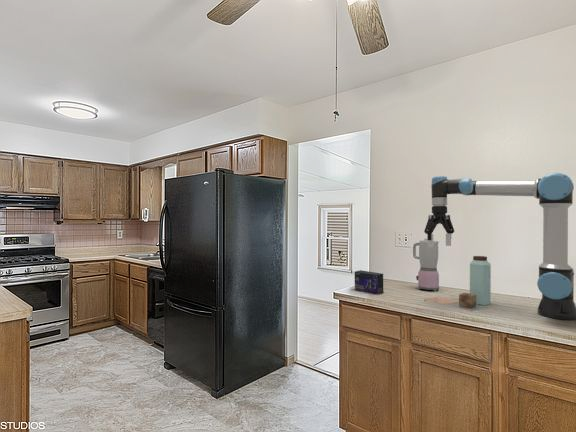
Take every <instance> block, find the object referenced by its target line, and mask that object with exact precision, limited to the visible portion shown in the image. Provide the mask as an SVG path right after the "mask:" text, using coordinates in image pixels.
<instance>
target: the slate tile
mask: <svg viewBox="0 0 576 432" xmlns="http://www.w3.org/2000/svg"><path fill="white" fill-rule="evenodd" d="M448 306H449V307H453V308H457V309H462V310H466V311H469V312H474V311H480V310H485V309H487V307H485V306H483V305H479V304H476V307H474V308H472V309H471V308H465V307H460V306H459V302H456V303H450V304H448Z"/></svg>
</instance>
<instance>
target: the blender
mask: <svg viewBox="0 0 576 432" xmlns="http://www.w3.org/2000/svg"><path fill="white" fill-rule="evenodd" d="M439 243H440V241H438V240H433V247H428V239H427V238H424V239H423V240H419V242H415V243H414V244H413V246H412V249H413V250H412V254H413V256H412V257H413V258H414V259H417V260H419V264H420V265H419V266H420V268H419V270H418V273H417V275H416V278H415V279H416V281H417V282H418V283H417V284H418V285H417V288H418V290H419V291H421V289H422V290H428V291H429V290H431V291H433V292H434V293H435V292H437V291H439V290H440V274H439V271H438V269H437V267H438V260H439ZM417 246H418V255H417Z"/></svg>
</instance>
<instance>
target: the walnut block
mask: <svg viewBox="0 0 576 432" xmlns="http://www.w3.org/2000/svg"><path fill="white" fill-rule="evenodd" d="M458 301H459V302H458V303H459V306H460V307H465V308H471V309H472V308H474V307H476V305H477V304H476V295H475V294H470V292H462V293H459V294H458Z"/></svg>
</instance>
